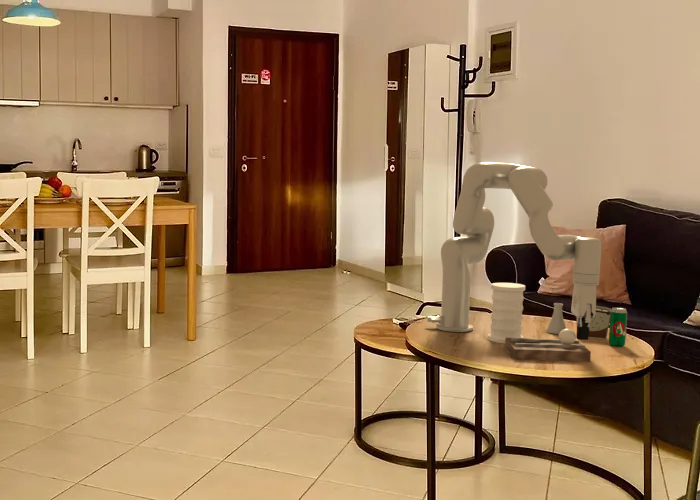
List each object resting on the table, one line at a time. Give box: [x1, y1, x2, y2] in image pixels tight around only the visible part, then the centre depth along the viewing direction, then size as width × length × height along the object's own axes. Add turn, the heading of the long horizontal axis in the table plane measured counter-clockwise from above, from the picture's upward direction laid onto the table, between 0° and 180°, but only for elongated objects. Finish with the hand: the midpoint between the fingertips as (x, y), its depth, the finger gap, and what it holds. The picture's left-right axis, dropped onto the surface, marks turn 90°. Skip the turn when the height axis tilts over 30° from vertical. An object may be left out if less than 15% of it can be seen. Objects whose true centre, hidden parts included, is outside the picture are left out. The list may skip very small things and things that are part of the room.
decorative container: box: [487, 282, 526, 344], centre depth 260 cm, size 12×12×18 cm
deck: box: [504, 337, 592, 363], centre depth 242 cm, size 22×16×4 cm
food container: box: [575, 305, 612, 340], centre depth 271 cm, size 12×6×10 cm, turn 71°
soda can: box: [608, 307, 628, 348], centre depth 257 cm, size 5×5×12 cm
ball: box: [558, 328, 577, 345], centre depth 241 cm, size 5×5×5 cm
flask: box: [545, 302, 567, 335], centre depth 275 cm, size 7×7×10 cm
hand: (582, 339), depth 241 cm, fingers closed
